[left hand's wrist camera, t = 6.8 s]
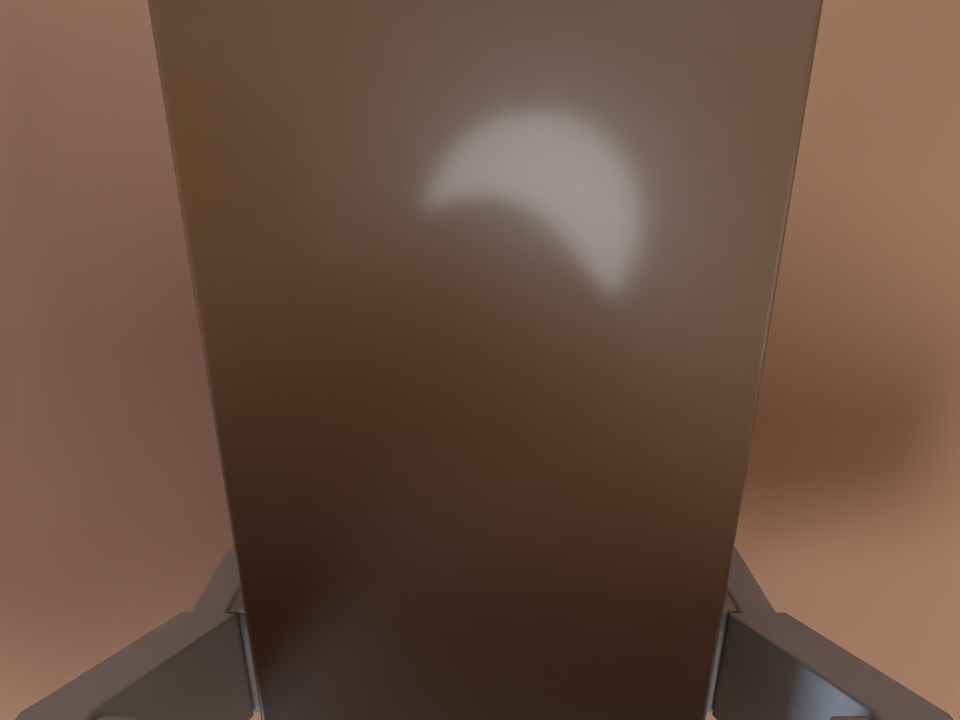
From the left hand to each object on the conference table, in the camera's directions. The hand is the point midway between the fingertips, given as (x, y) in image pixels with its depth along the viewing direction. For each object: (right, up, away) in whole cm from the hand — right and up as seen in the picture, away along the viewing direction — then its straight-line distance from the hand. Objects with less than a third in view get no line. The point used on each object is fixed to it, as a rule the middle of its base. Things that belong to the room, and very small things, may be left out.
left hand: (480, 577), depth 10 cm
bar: (0, +21, -5) cm, 21 cm away
